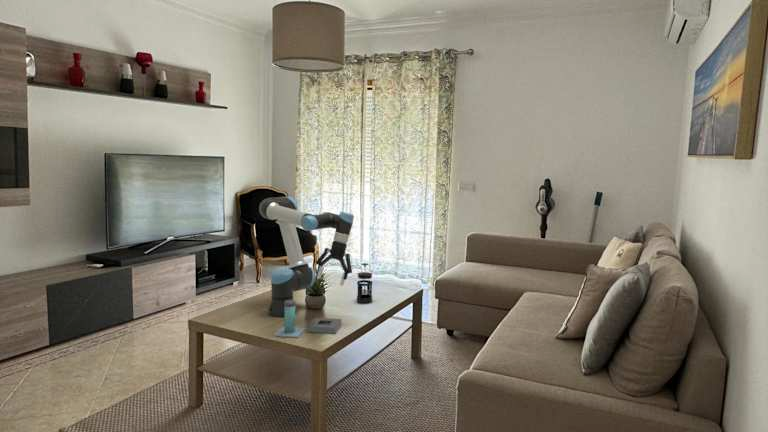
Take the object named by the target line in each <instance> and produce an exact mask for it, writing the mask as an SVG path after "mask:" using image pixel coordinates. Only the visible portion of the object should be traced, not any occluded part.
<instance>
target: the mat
mask: <svg viewBox="0 0 768 432" xmlns="http://www.w3.org/2000/svg"><path fill="white" fill-rule="evenodd" d="M304 330H305V331H306V328H302V327H295V332H294V333H285V326H281V327H280V328H279V329H278V330H276V332H275V333H274V334H273V337H274V336H279V337H278V338H288V337H294V338H293V339H299V338H300V336H301V335H302V334H303V333H304V332H305V331H304ZM298 337H299V338H298Z"/></svg>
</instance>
